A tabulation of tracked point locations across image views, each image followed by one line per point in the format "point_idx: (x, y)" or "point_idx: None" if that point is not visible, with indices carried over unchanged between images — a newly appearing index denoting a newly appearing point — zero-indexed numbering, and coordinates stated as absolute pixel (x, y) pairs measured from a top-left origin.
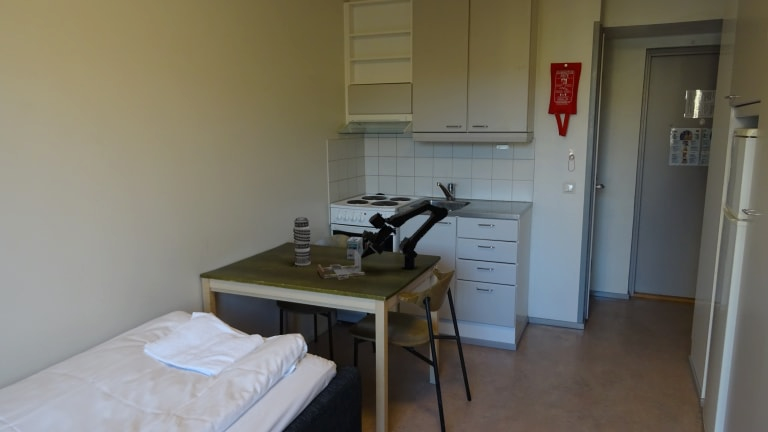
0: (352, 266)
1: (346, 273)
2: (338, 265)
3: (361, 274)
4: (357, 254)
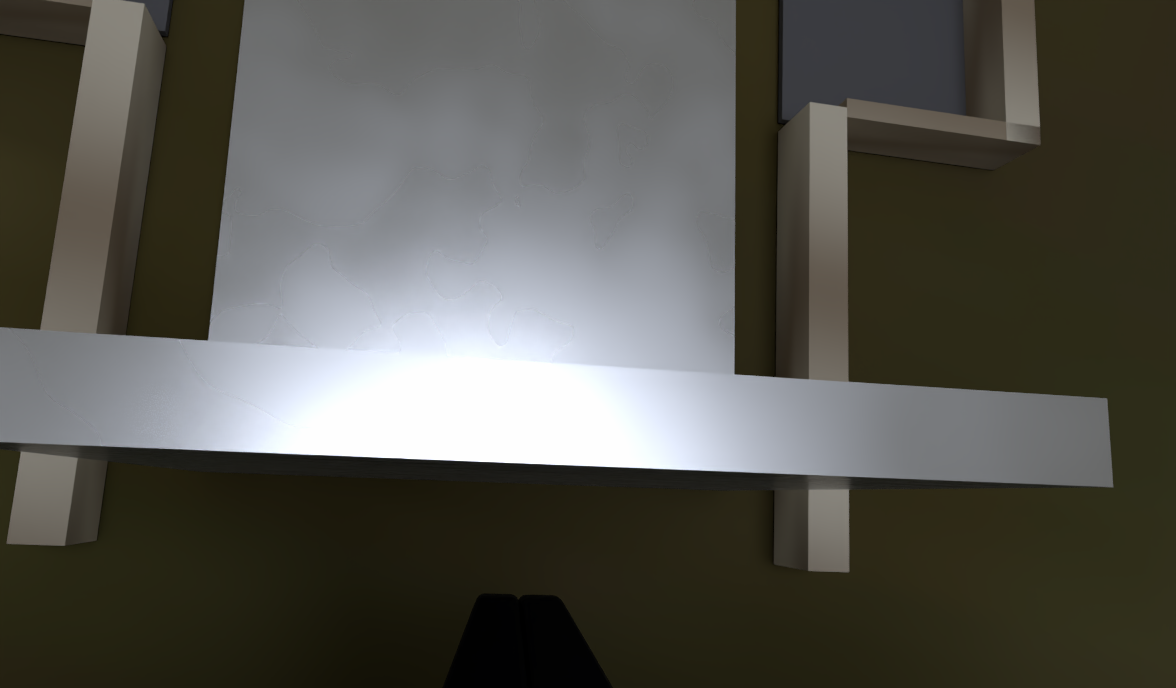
0: None
1: (136, 5)
2: (994, 107)
3: None
4: (438, 365)
